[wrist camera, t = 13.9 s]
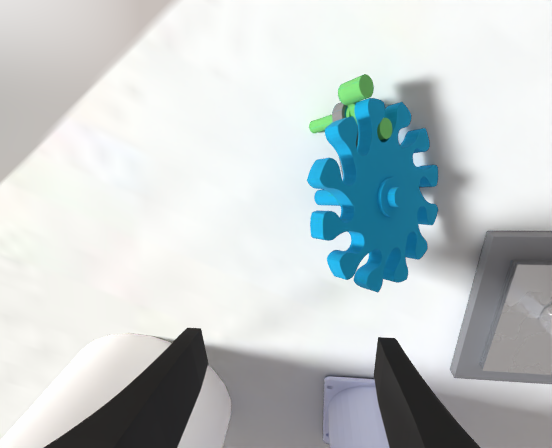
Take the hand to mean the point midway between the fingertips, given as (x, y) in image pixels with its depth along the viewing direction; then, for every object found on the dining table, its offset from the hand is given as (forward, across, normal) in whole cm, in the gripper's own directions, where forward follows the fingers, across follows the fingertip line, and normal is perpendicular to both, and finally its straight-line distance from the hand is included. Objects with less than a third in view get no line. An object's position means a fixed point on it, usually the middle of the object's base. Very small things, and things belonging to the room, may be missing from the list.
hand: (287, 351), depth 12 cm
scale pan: (+10, -18, +6) cm, 21 cm away
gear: (+11, -5, -5) cm, 13 cm away
